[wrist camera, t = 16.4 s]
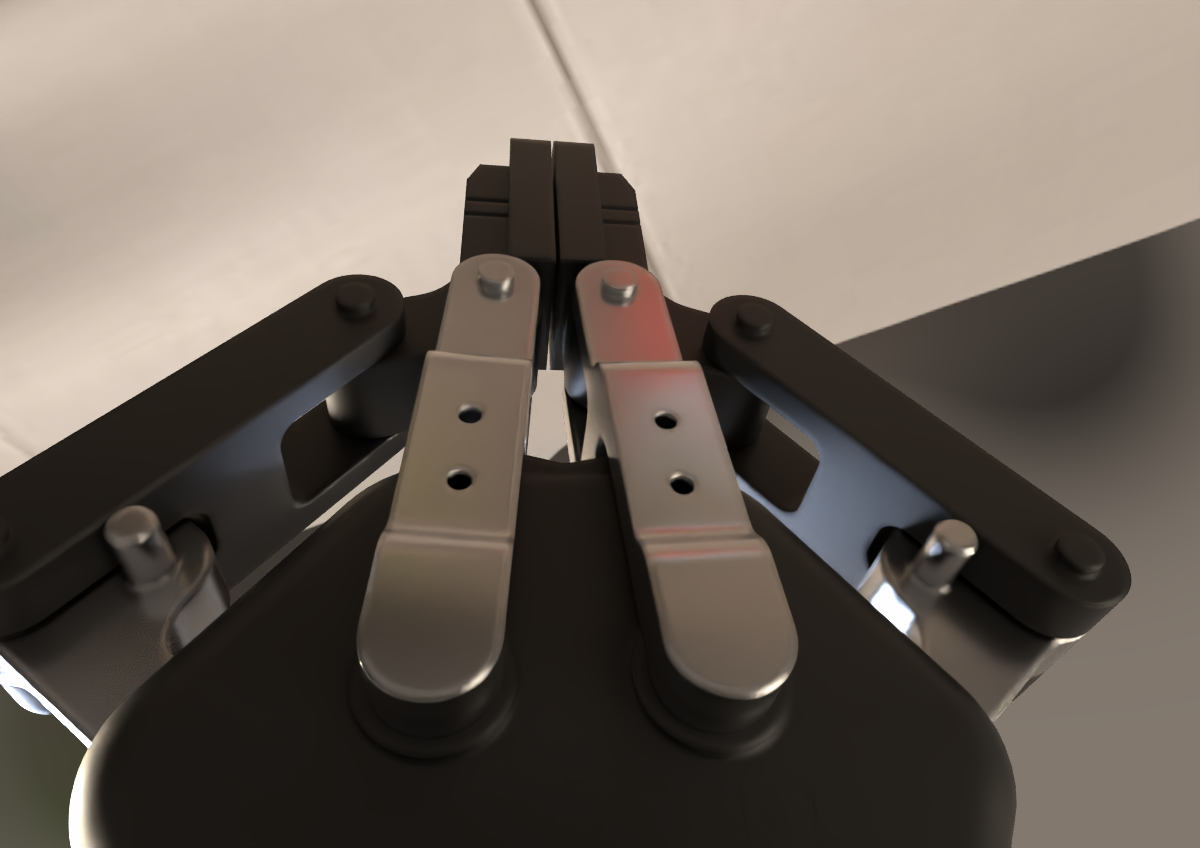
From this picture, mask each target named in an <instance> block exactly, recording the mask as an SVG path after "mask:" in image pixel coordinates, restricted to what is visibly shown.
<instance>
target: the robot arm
mask: <svg viewBox="0 0 1200 848" xmlns="http://www.w3.org/2000/svg"><path fill="white" fill-rule="evenodd" d="M548 343H549V354H550V370H564V389H563V398H562V410H563V417H564V424H565V430H566V437H567V444H568V451H569V457H570V463H560V462H555V461H550V460H546V459H542V458H537V457H533V456H528V455H527V446H528V435H529V425H530V414H531V403H532V395H533V393H534V392H535V389H536V386H537V375H538V370H546V366H547V354H548ZM324 399H325V400H324ZM323 400H324V401H323ZM321 401H323V402H321ZM320 402H321V403H320ZM319 403H320V404H319ZM317 404H318V405H317ZM316 405H317V406H316ZM314 406H316V407H314ZM313 407H314V408H313ZM769 407H771V408H773V409H774V410H775V411H776V412H778V413H779V414H780V415H781V416H783V417H784V418H785V419H787V420H788V421H789V422H791V423H792V424H793V425H794V426H796V427H797V428H798V429H800V430H801V431H802V432H803V433H805V434H806V435H807V436H808V437H809V438H810V439H811V440H812V441H813V442H814V444H815V446H816V447H817V450H818V452H819V457H820V461H818V460H817V459H816V458H814V457H813V456H812V455H811V454H810V453H808V452H807V451H806V450H804V449H803V448H802V447H801V446H799V445H798V444H797V443H796V442H794V441H793V440H792V439H791V438H789V437H788V436H787V435H785V434H784V433H783V432H782V431H781V430H779V429H778V428H777V427H775V426H774V425H773V424H772V423H770V422H769V421H768V420H767V419H765V418H766V415H767V413H768V410H769ZM312 408H313V409H312ZM310 409H311V410H310ZM309 410H310V411H309ZM307 411H309V412H307ZM306 412H307V413H306ZM305 413H306V414H305ZM303 414H304V415H303ZM302 415H303V416H302ZM300 416H302V417H300ZM299 417H300V418H299ZM298 418H299V419H298ZM296 419H297V420H296ZM295 420H296V421H295ZM404 447H405V449H404V454H403V458H402V463H401V467H400V471H399V473H397V474H395V475H392V476H390V477H387V478H385V479H383V480H381V481H379V482H377V483H375V484H373V485H371V486H370V487H368V488H366V489H365V490H363V491H362V492H361V493H359V494H358V495H356V496H355V497H354V498H352V499H351V500H350V501H349V502H348V503H346V504H345V505H344V506H343V507H342V508H341V509H340V510H338V511H337V512H336V513H335V514H334V515H333V516H332V517H331V518H329V519H328V520H327V521H326V522H325V523H324V524H323V525H322V526H320V527H319V528H318V529H317V530H316V531H315V532H314V533H313V534H311V535H310V536H309V537H308V538H307V539H306V540H305V541H303V543H302V544H300V545H299V546H298V547H297V548H296V549H294V550H293V551H292V552H291V553H290V554H289V555H288V556H287V557H285V558H284V559H283V560H282V561H281V562H280V563H279V564H278V565H277V566H275V567H274V568H273V569H272V570H271V571H270V572H268V573H267V574H266V575H265V576H264V577H263V578H262V579H261V580H259V581H258V582H257V583H256V584H255V585H254V586H253V587H252V588H250V589H249V590H248V591H247V592H246V593H245V594H244V595H242V597H240V598H239V599H238V600H237V601H236V602H235V603H233V604H232V605H231V606H230V593H229V591H230V590H231V589H232V588H233V587H234V586H236V585H237V584H238V583H239V582H241V581H242V580H243V579H244V578H245V577H247V576H248V575H249V574H250V573H251V572H253V571H254V570H255V569H256V568H257V567H259V566H260V565H261V564H262V563H264V562H265V561H266V560H267V559H269V558H270V557H271V556H272V555H273V554H275V553H276V552H277V551H278V550H280V549H281V548H282V547H283V546H284V545H286V544H287V543H288V542H289V541H291V540H292V539H293V538H294V537H295V536H296V535H298V534H299V533H300V532H301V531H303V530H304V529H305V528H306V527H308V526H309V525H310V524H311V523H312V522H314V521H315V520H316V519H317V518H319V517H320V516H321V515H322V514H323V513H325V512H326V511H327V510H328V509H330V508H331V507H332V506H333V505H334V504H336V503H337V502H338V501H339V500H341V499H342V498H343V497H344V496H345V495H347V494H348V493H349V492H350V491H352V490H353V489H354V488H355V487H356V486H358V485H359V484H360V483H361V482H362V481H364V480H365V479H366V478H367V477H369V476H370V475H371V474H372V473H373V472H375V471H376V470H377V469H378V468H380V467H381V466H382V465H383V464H384V463H386V462H387V461H388V460H389V459H391V458H392V457H393V456H394V455H395V454H397V453H398V452H399V451H400V450H401V449H403V448H404ZM1130 587H1131V573H1130V570H1129V567H1128V564H1127V562H1126V560H1125V558H1124V557H1123V555H1122V554H1121V552H1120V551H1119V550H1118V548H1117V547H1116V546H1115V545H1114V544H1113V543H1112V542H1111V541H1110V540H1109V539H1108V538H1107V537H1106V536H1105V535H1103V534H1102V533H1101V532H1099V531H1098V530H1097V529H1095V528H1094V527H1092V526H1091V525H1090V524H1088V523H1087V522H1085V521H1084V520H1083V519H1081V518H1080V517H1078V516H1077V515H1075V514H1074V513H1072V512H1071V511H1070V510H1068V509H1067V508H1065V507H1064V506H1063V505H1061V504H1060V503H1058V502H1057V501H1056V500H1054V499H1053V498H1051V497H1050V496H1048V495H1047V494H1046V493H1044V492H1042V491H1041V490H1040V489H1038V488H1037V487H1036V486H1034V485H1033V484H1031V483H1030V482H1029V481H1027V480H1026V479H1024V478H1023V477H1021V476H1020V475H1019V474H1017V473H1016V472H1014V471H1013V470H1012V469H1010V468H1009V467H1007V466H1006V465H1004V464H1003V463H1001V462H1000V461H999V460H997V459H996V458H994V457H993V456H992V455H990V454H989V453H987V452H986V451H985V450H983V449H982V448H980V447H979V446H977V445H976V444H975V443H973V442H972V441H970V440H969V439H968V438H966V437H965V436H963V435H962V434H960V433H959V432H957V431H956V430H955V429H953V428H952V427H950V426H949V425H948V424H946V423H945V422H943V421H942V420H941V419H939V418H938V417H936V416H935V415H933V414H932V413H931V412H929V411H928V410H926V409H925V408H923V407H922V406H921V405H919V404H918V403H916V402H915V401H914V400H912V399H911V398H909V397H908V396H906V395H905V394H904V393H902V392H901V391H899V390H898V389H896V388H895V387H894V386H892V385H891V384H889V383H888V382H886V381H885V380H884V379H882V378H881V377H879V376H878V375H877V374H875V373H874V372H872V371H871V370H869V369H868V368H867V367H865V366H864V365H862V364H861V363H860V362H858V361H857V360H855V359H854V358H852V357H851V356H850V355H848V354H847V353H845V352H844V351H842V350H841V349H840V348H838V347H837V346H835V345H834V344H833V343H831V342H830V341H828V340H827V339H826V338H824V337H823V336H821V335H820V334H818V333H817V332H816V331H814V330H813V329H811V328H810V327H808V326H807V325H806V324H804V323H803V322H801V321H800V320H799V319H797V318H796V317H794V316H793V315H791V314H790V313H789V312H787V311H786V310H784V309H783V308H782V307H780V306H778V305H777V304H775V303H773V302H771V301H769V300H766V299H763V298H760V297H756V296H749V295H736V296H730V297H726V298H724V299H721V300H720V301H718V302H717V303H716V304H715V305H714V306H713V307H712V309H711V311H710V313H707V312H703V311H699V310H696V309H692V308H689V307H686V306H683V305H680V304H678V303H675V302H673V301H672V300H670V299H668V298H667V297H665V296H664V295H663V291H662V288H661V285H660V283H659V281H658V280H657V278H656V277H655V276H654V275H653V274H652V273H651V272H649V271H648V266H647V260H646V254H645V248H644V242H643V236H642V230H641V225H640V218H639V212H638V206H637V200H636V193H635V190H634V189H633V187H632V186H631V185H630V184H629V183H628V181H627V180H626V179H625V178H624V177H623V176H622V174H616V173H601V172H597V165H596V156H595V147H594V144H588V143H574V142H560V141H554V143H553V150H552V157H551V141H545V140H531V139H517V138H511V139H510V164H509V166H496V165H481V164H480V165H479V166H478V167H477V169H476V170H475V171H474V172H473V173H472V174H471V175H470V177H469V178H468V179H467V185H466V197H465V209H464V221H463V233H462V245H461V257H460V264H459V265H458V266H457V267H456V268H455V270H454V271H453V274H452V277H451V281H450V282H449V283H448V284H446V285H445V286H443V287H442V288H439V289H437V290H435V291H432V292H429V293H426V294H421V295H416V296H410V297H405V298H403V296H402V294H401V292H400V290H399V289H398V288H397V287H396V286H395V285H393V284H392V283H390V282H389V281H387V280H384V279H382V278H379V277H375V276H370V275H361V274H360V275H346V276H341V277H337V278H334V279H331V280H328V281H326V282H325V283H323V284H321V285H319V286H318V287H316V288H314V289H313V290H311V291H309V292H308V293H306V294H304V295H303V296H301V297H299V298H298V299H296V300H294V301H293V302H291V303H289V304H288V305H286V306H284V307H283V308H281V309H279V310H278V311H276V312H274V313H273V314H271V315H269V316H268V317H266V318H264V319H263V320H261V321H259V322H258V323H256V324H254V325H253V326H251V327H249V328H248V329H246V330H244V331H243V332H241V333H239V334H238V335H236V336H234V337H233V338H231V339H229V340H228V341H226V342H224V343H223V344H221V345H219V346H218V347H216V348H214V349H213V350H211V351H209V352H208V353H206V354H204V355H203V356H201V357H199V358H198V359H196V360H194V361H193V362H191V363H189V364H188V365H186V366H184V367H183V368H181V369H179V370H178V371H176V372H175V373H173V374H171V375H170V376H168V377H166V378H165V379H163V380H161V381H160V382H158V383H156V384H155V385H153V386H151V387H150V388H148V389H146V390H145V391H143V392H141V393H140V394H138V395H136V396H135V397H133V398H131V399H130V400H128V401H126V402H125V403H123V404H121V405H120V406H118V407H116V408H115V409H113V410H111V411H110V412H108V413H106V414H105V415H103V416H101V417H100V418H98V419H96V420H95V421H93V422H91V423H90V424H88V425H86V426H85V427H83V428H81V429H80V430H78V431H76V432H75V433H73V434H71V435H70V436H68V437H66V438H65V439H63V440H61V441H60V442H58V443H56V444H55V445H53V446H51V447H50V448H48V449H46V450H45V451H43V452H41V453H40V454H38V455H36V456H35V457H33V458H31V459H30V460H28V461H26V462H25V463H23V464H21V465H20V466H18V467H16V468H15V469H13V470H11V471H10V472H8V473H6V474H5V475H3V476H1V477H0V684H1V685H2V686H3V687H4V688H5V689H6V690H7V692H8V693H9V694H10V695H11V696H12V697H13V698H14V699H15V701H16V702H18V703H19V704H20V705H21V706H22V707H24V708H25V709H27V710H29V711H32V712H35V713H39V714H54V715H55V716H56V717H57V718H58V719H59V720H60V721H61V722H62V723H63V724H64V725H65V726H66V727H68V728H69V729H70V730H71V731H72V732H73V733H74V734H75V735H76V736H77V737H78V738H79V739H80V740H81V741H82V742H83V743H84V744H85V745H86V746H87V747H88V750H87V752H86V754H85V756H84V758H83V760H82V763H81V765H80V767H79V770H78V773H77V776H76V779H75V783H74V787H73V791H72V796H71V801H70V810H69V834H70V835H69V836H70V842H71V848H1011V844H1012V836H1013V828H1014V822H1015V814H1016V786H1015V780H1014V775H1013V770H1012V766H1011V763H1010V760H1009V757H1008V754H1007V751H1006V748H1005V745H1004V743H1003V741H1002V739H1001V737H1000V735H999V733H998V731H997V729H996V728H995V726H994V724H993V723H994V721H995V720H996V719H997V718H998V717H999V715H1000V714H1001V713H1002V712H1003V710H1004V709H1005V708H1006V707H1007V706H1008V704H1009V703H1010V702H1011V701H1013V700H1015V699H1016V698H1017V697H1018V696H1019V695H1020V694H1021V693H1023V692H1024V691H1025V690H1026V689H1027V688H1028V687H1029V686H1030V685H1031V684H1032V683H1033V682H1034V681H1036V680H1037V679H1038V678H1039V677H1040V676H1041V675H1042V674H1043V673H1044V672H1045V671H1046V670H1047V669H1048V668H1050V667H1051V666H1052V665H1053V664H1054V663H1055V662H1056V661H1057V660H1058V659H1059V658H1060V657H1061V656H1062V655H1063V654H1064V653H1066V652H1067V651H1068V650H1069V649H1070V648H1071V647H1072V646H1073V645H1074V644H1075V643H1076V642H1077V641H1079V640H1080V639H1081V638H1082V637H1083V636H1084V635H1085V634H1086V633H1087V632H1088V631H1089V630H1090V629H1091V628H1092V627H1093V626H1095V625H1096V624H1097V623H1098V622H1099V621H1100V620H1101V619H1102V618H1103V617H1104V616H1105V615H1106V614H1108V613H1109V612H1110V611H1111V610H1112V609H1113V608H1114V607H1115V606H1116V605H1117V604H1118V603H1119V602H1120V601H1121V600H1123V599H1124V598H1125V596H1126V595H1127V594H1128V592H1129V590H1130Z"/></svg>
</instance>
